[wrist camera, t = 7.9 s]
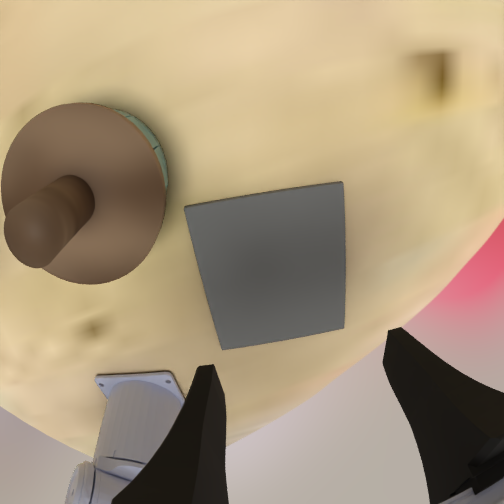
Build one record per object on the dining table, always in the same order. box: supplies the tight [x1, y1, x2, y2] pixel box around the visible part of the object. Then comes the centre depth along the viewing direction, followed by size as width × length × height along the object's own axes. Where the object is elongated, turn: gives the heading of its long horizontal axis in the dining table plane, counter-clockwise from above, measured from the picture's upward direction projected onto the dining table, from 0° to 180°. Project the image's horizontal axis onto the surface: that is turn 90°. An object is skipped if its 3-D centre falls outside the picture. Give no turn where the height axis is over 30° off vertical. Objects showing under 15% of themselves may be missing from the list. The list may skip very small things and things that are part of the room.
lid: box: [1, 103, 166, 285], centre depth 13 cm, size 10×10×5 cm
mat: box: [184, 181, 346, 350], centre depth 22 cm, size 12×10×1 cm
